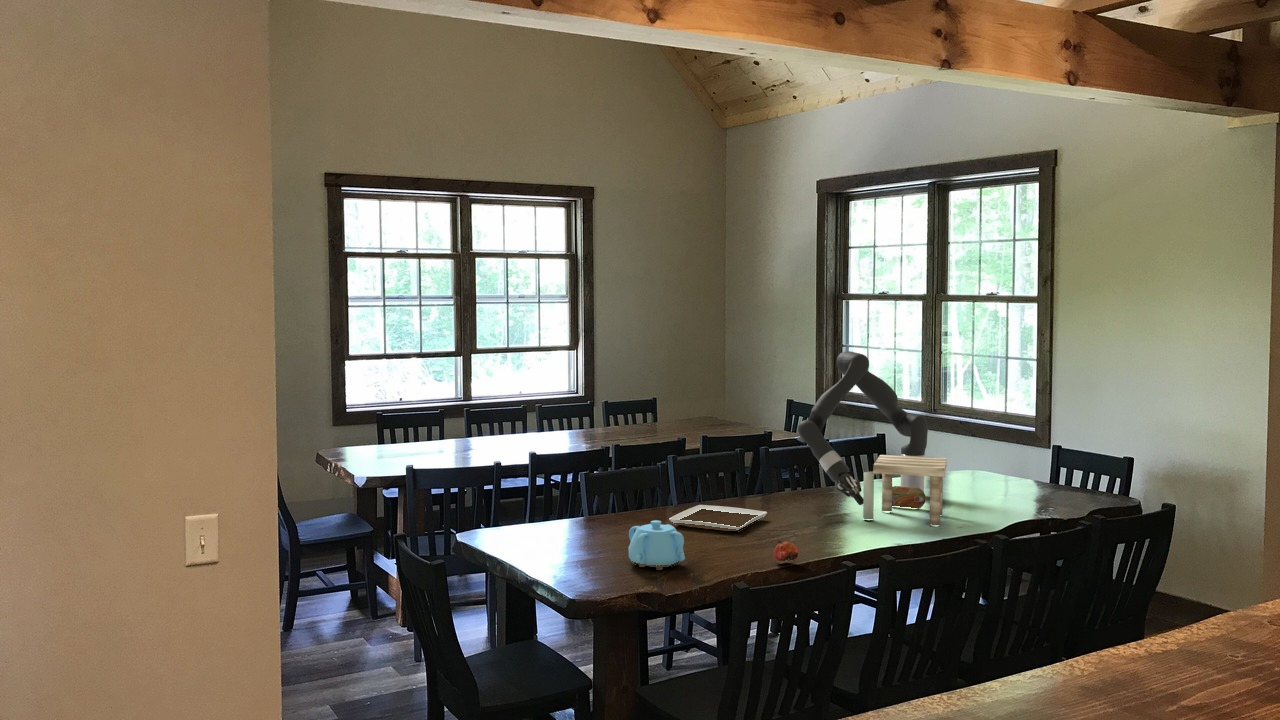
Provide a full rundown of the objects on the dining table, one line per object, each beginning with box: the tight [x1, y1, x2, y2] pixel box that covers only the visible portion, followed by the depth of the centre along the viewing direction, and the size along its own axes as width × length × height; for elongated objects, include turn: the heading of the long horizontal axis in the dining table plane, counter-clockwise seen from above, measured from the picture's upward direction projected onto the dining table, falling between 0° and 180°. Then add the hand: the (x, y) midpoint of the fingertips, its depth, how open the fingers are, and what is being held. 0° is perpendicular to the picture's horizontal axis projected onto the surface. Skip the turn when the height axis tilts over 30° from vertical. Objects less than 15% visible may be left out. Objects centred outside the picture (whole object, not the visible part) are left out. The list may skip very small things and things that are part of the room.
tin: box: [892, 485, 927, 510], centre depth 391 cm, size 15×3×8 cm, turn 62°
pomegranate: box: [773, 540, 800, 561], centre depth 310 cm, size 7×7×10 cm
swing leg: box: [862, 470, 879, 520], centre depth 372 cm, size 13×4×17 cm, turn 131°
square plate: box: [668, 504, 768, 530], centre depth 366 cm, size 27×27×4 cm
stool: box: [872, 454, 948, 526], centre depth 371 cm, size 24×24×21 cm
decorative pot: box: [627, 519, 686, 566], centre depth 309 cm, size 16×16×14 cm
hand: (862, 503), depth 370 cm, fingers closed
